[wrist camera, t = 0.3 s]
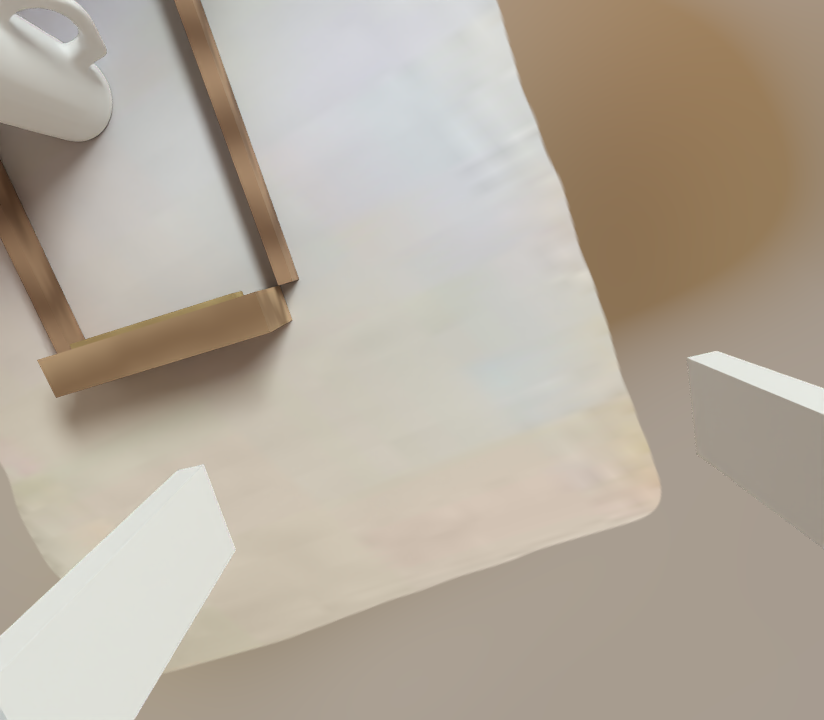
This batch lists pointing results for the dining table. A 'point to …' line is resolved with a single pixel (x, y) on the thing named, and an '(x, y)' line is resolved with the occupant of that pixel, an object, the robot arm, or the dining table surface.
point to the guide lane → (12, 225)
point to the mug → (52, 74)
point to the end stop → (165, 339)
